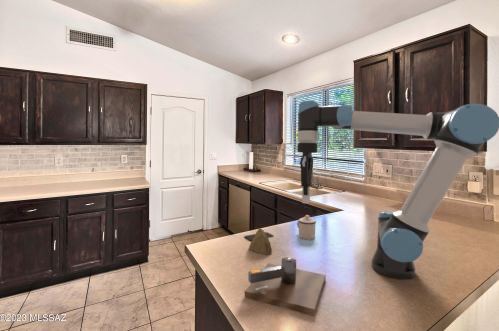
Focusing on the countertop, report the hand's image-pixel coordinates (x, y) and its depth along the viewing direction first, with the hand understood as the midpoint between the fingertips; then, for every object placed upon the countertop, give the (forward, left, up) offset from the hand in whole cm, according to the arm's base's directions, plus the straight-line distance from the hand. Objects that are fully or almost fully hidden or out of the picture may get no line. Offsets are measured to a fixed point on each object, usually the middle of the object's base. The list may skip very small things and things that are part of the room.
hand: (305, 202), depth 102 cm
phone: (+30, -26, -27) cm, 48 cm away
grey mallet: (+6, +20, -24) cm, 32 cm away
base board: (+2, +17, -26) cm, 31 cm away
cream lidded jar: (+8, -38, -27) cm, 47 cm away
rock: (+22, -8, -27) cm, 36 cm away
